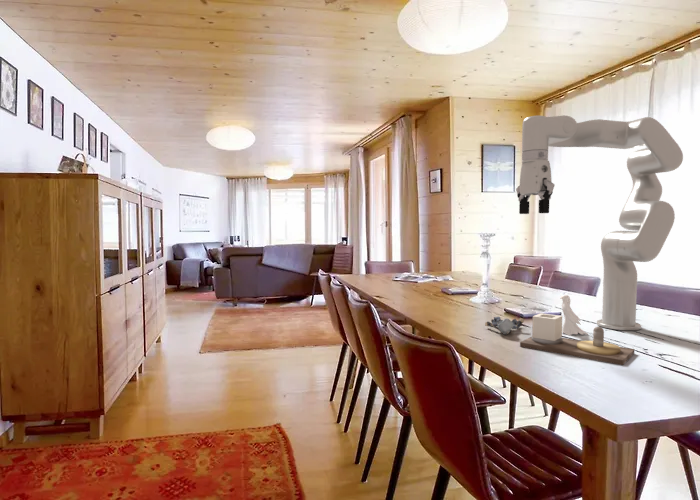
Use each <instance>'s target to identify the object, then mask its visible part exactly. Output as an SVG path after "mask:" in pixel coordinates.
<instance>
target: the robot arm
mask: <svg viewBox="0 0 700 500" xmlns="http://www.w3.org/2000/svg"><path fill="white" fill-rule="evenodd" d="M521 127H522V128H521V129H522V131H521V132H522V133H521V139H522V140H521V146H522V147H521V168H520V174H519V186H517V188H516V189H515V190H516V195H517V198H518V200H517V201H518V202H519V205H518V206H519V208H518V209H519V211H518V212H519V213H518V214H519V215H529V214H530V201H529V199H530V198H531V196H538V197H539V200H538V213H539V214H549V213H550V200H551V199H552V195H553V191H554V188H555V183H553V182H552V169H551V164H550V160H549V147H552V148H604V149H605V148H607V149H617V150H619V149H620V150H627V149H628V150H629V149H634V148H638V147H644V146H646V147H645V148H641V149H637V150H635V151H633V152H631V153H630V154H629V155H628V157H627V159H626V167H627V168H626V169H627V171H628V172H629V174H630V177H631V180H632V188H631V191H630V194H629V196H628V198H627V199H626V202H625V204H624V206H623V208H622V210H621V211H620V214H619V217H618V218H619V219H618V222H619V225H620V227H622V228H623V229H626V230H615V231H610V232H608V233H607V234H606V235H604V236H603V238H602V240H601V243H600V251H601V256H602V260H603V261H602V263H603V280H602V281H603V282H602V284H603V285H602V315H601V317H602V318H601V319H598V320H597V321H596V324H597V326H598V327H601V328H603V329H604V328H605V329H611V330H616V331H638V330H641V329H642V325H641V323H638V322H637V320H636V319H637V298H638V296H637V295H638V293H637V292H638V291H637V290H638V270H637V268H636V267H637V266H636V265H635V262H637V263H638V262H640V263H647V262H651V261H653V260H655V259H656V258H657V256H659V254H660V253H661V250H662V249H663V247H664V245H665V242H666V240H667V238H668V236H669V234H670V232H671V230H672V228H673V226H674V223H675V219H676V217H675V209H674V208H673V206H672V204H670V203H669V202H667V201H664V200H661V197H662V196H663V195H662V193H663V187H662V184H661V182H660V180H659V178H658V176H657V174H659V173H667V172H668V173H669V172H672V171H675V170H677V169H678V168H679V167H680V166H681V165H682V163H683V160H684V154H683V150H682V148H681V147H680V146H679V144H678V143H677V141H675V140H676V139H674V138H673V137H672V135H671V134H670V132H669V131H668V130H667V129H666V128H665V126H663V125H662V123H660V121H658V120H657V119H655V118H654V117H651V116H646V117H641V118H637V119H634V120H630V121H621V120H612V119H611V120H609V119H601V118H599V119H597V118H596V119H589V120H585V121H580V122H577V121H576V119H575V118H573V117H572V116H569V115H563V114H562V115H556V116H555V115H554V116H545V115H532V116H528V117H527V116H526V118H524V119H523V121H522V126H521Z"/></svg>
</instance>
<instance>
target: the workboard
mask: <svg viewBox="0 0 700 500" xmlns="http://www.w3.org/2000/svg"><path fill="white" fill-rule="evenodd" d="M548 318H550V317H548ZM592 331H593V335H592V336H593V337H592V340H578V339H572V338H568V337H567V338H566V337H563V336H562V337H561V338H559V339H557V340H556V341H551V340H545V339H539V338H533V337H532V336H530V337H528V338H526V339H524V340H522V341H520V342H519V347H521V348H522V347H523V348H525V349H526V348H527V349H532V350H538V351H544V352H548V353H553V354H554V353H556V354H559V355H565V356H566V355H567V356H570V357H577V358H581V359H587V360H591V361H592V360H593V361H598V362H603V363H604V362H605V363H610V364H615V365H619V366H620V365H621V366H623V365H625V363H627V361H629V359H631V358H632V357H633V356H634V354H635V349H634V348H629V347H623V346H619V345H617V344H614V343H611V342H605V341H604V337H605V331H604V327H601V326H595V327H594V328H593V330H592Z"/></svg>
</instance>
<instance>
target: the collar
mask: <svg viewBox="0 0 700 500" xmlns="http://www.w3.org/2000/svg"><path fill="white" fill-rule="evenodd" d="M548 317H550V318H548ZM562 328H563V315H558V314H551V313H542V312H541V313H540V312H539V313H538V314H535V315H533V316H532V335H531V337H533V338H539V339H545V340H551V341H556V340H557V339H559V338H561V337H562V338H563V332H562Z"/></svg>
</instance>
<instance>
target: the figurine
mask: <svg viewBox="0 0 700 500" xmlns="http://www.w3.org/2000/svg"><path fill="white" fill-rule="evenodd" d="M560 299H561V301H562V303H561V309H562V313H563V316H564V321H563V324H562V333H564V334H565V335H568V336H572V335H578V333H579V334H580V335H582V336H584V335H589V333H588V332H586V331H585V330H583V329H582V328H581V327H579V325H581V319H580V318H579V316H578V315H577V314H576V313H575V312H574V311H573V309H572V307H571V298H570V296H569V295H568V294H563V295H561V296H560Z"/></svg>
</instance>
